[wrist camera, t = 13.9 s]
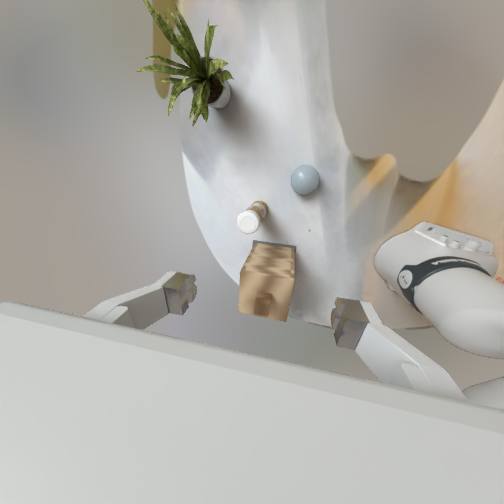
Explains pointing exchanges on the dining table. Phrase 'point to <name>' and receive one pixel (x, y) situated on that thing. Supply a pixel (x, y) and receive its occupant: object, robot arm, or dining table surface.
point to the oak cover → (267, 282)
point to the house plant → (192, 67)
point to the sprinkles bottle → (252, 217)
